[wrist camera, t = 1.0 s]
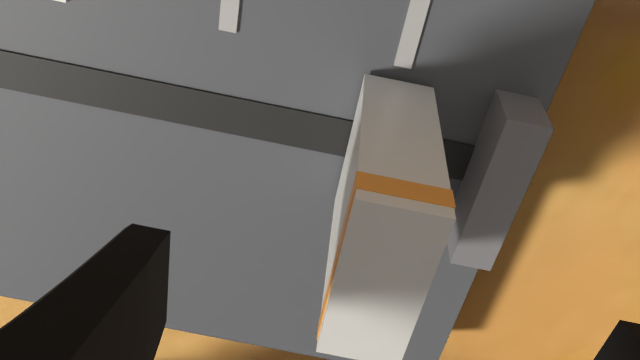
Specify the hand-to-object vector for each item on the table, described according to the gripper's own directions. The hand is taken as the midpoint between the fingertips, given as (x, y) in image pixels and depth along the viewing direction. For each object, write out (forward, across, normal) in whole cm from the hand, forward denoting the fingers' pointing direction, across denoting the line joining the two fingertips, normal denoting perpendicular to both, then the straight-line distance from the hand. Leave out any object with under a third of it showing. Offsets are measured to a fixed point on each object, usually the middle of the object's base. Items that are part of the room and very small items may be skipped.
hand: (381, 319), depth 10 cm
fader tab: (+6, 0, 0) cm, 6 cm away
